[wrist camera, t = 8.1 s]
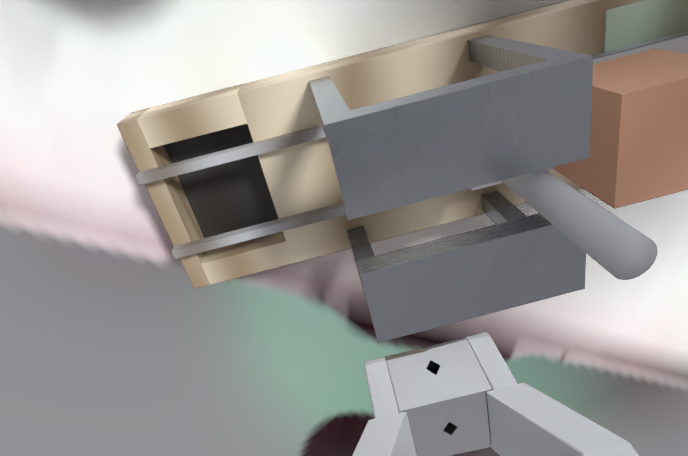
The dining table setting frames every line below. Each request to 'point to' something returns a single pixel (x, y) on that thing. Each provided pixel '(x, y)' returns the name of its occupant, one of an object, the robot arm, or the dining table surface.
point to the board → (312, 147)
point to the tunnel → (463, 183)
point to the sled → (621, 156)
